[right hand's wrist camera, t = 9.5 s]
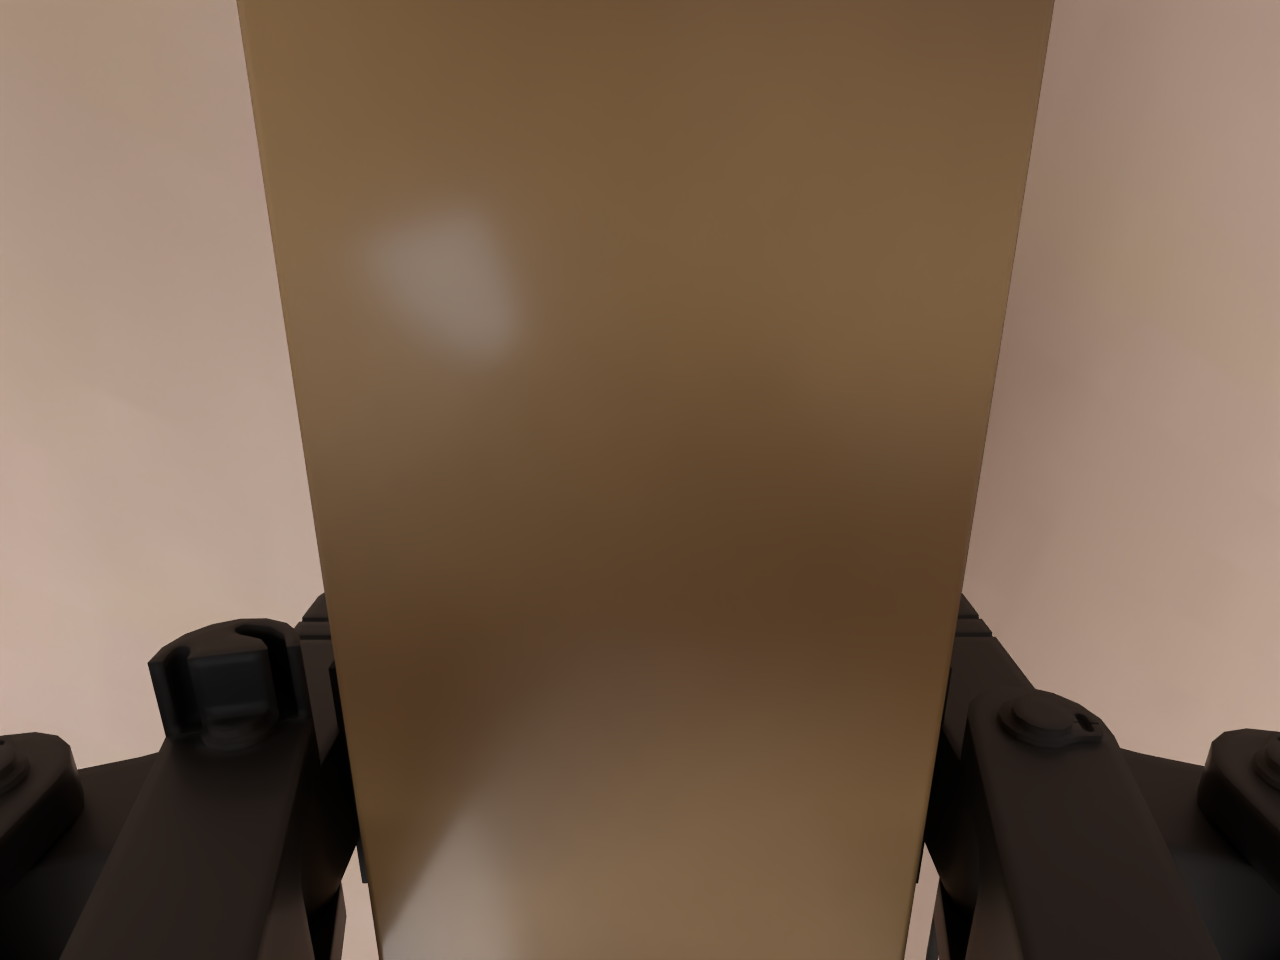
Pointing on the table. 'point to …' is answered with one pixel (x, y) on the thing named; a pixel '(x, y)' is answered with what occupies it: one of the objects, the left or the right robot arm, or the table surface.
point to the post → (643, 445)
